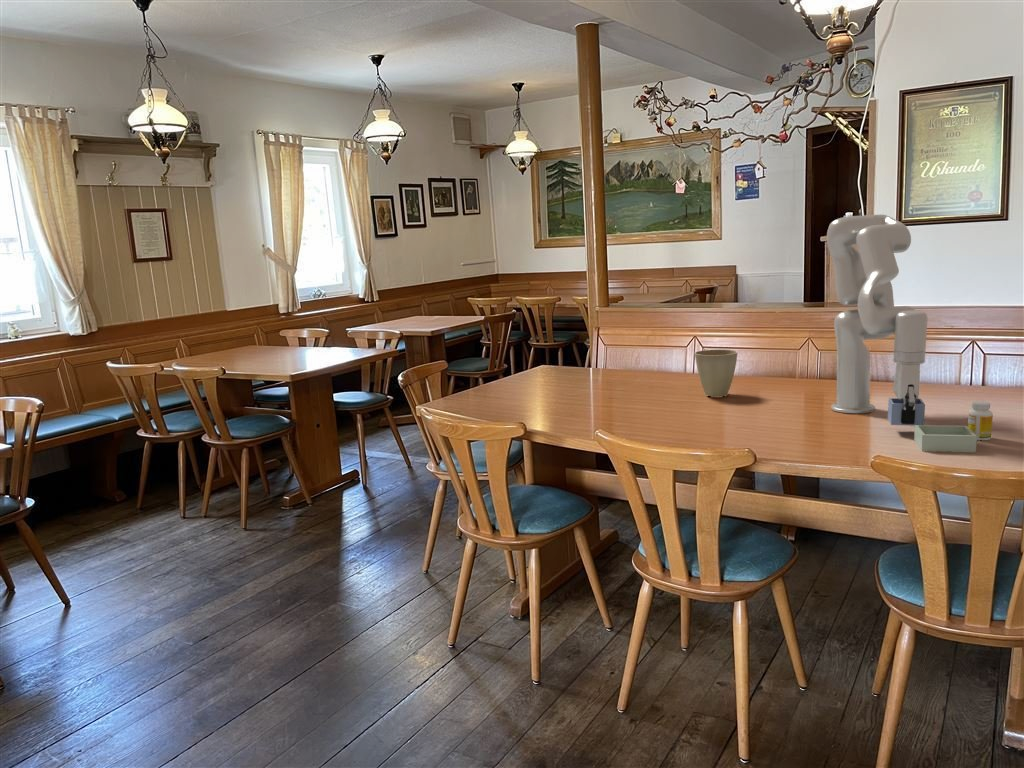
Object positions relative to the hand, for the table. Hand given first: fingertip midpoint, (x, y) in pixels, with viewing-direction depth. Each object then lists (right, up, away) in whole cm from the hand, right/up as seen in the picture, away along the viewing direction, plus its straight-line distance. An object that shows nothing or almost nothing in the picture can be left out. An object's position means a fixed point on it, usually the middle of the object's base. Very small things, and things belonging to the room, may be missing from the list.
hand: (905, 419), depth 204 cm
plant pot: (-35, +5, +64) cm, 73 cm away
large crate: (+3, -6, -14) cm, 15 cm away
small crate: (0, -1, 0) cm, 1 cm away
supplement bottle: (+15, -5, -9) cm, 18 cm away
